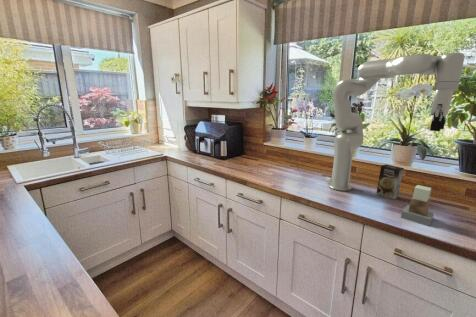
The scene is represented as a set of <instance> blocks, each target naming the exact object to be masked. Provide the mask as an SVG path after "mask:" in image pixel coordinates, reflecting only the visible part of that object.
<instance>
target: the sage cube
mask: <svg viewBox="0 0 476 317" xmlns="http://www.w3.org/2000/svg"><path fill="white" fill-rule="evenodd" d="M431 193H432V187H430V186H429V187H428V186H425V185H420V184H416V186H415V187H414V189H413V193H412V194H413V195H412V197H413V199H417V200H421V201H424V202H427V201H428V200H429V199H431V198H430V196H431Z"/></svg>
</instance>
